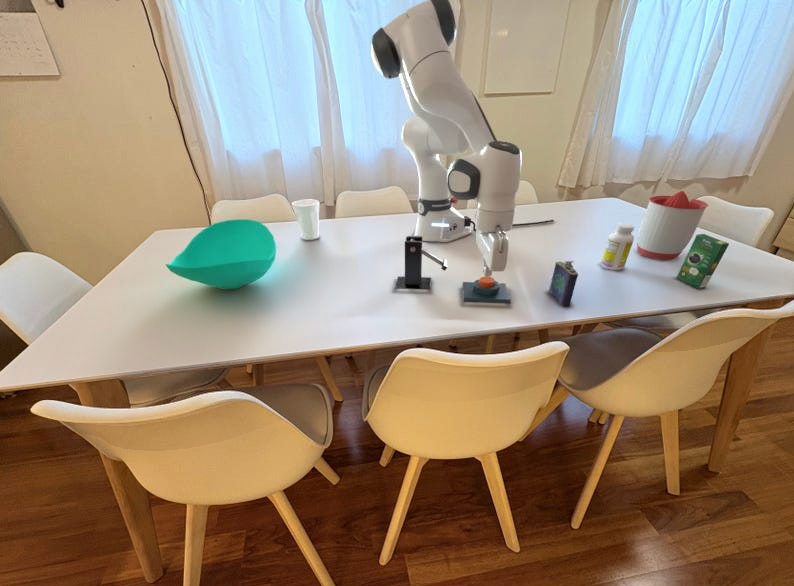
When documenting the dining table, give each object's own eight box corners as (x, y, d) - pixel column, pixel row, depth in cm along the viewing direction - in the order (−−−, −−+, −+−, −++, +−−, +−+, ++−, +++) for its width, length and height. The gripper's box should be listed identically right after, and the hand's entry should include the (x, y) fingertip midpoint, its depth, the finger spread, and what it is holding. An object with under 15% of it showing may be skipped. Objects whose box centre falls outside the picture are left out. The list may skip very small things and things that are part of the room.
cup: (301, 244, 139) (295, 207, 131) (294, 236, 146) (288, 201, 138) (327, 239, 143) (322, 203, 135) (319, 232, 150) (314, 198, 142)
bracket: (430, 281, 111) (432, 234, 103) (429, 293, 105) (431, 244, 97) (397, 280, 112) (396, 233, 104) (394, 291, 106) (393, 243, 97)
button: (493, 282, 101) (493, 276, 100) (494, 289, 98) (495, 282, 97) (478, 282, 102) (478, 276, 101) (479, 288, 98) (479, 282, 97)
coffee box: (707, 288, 105) (731, 242, 97) (698, 290, 104) (722, 243, 96) (683, 277, 111) (704, 233, 103) (675, 278, 110) (695, 234, 103)
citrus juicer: (689, 252, 127) (718, 189, 116) (677, 266, 117) (707, 199, 106) (640, 242, 136) (662, 182, 124) (624, 255, 126) (646, 191, 114)
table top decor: (207, 261, 126) (194, 221, 119) (290, 257, 128) (282, 217, 121) (158, 319, 95) (135, 270, 87) (269, 313, 97) (257, 264, 89)
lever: (443, 265, 106) (448, 258, 105) (443, 272, 102) (448, 265, 101) (407, 243, 104) (412, 236, 102) (406, 249, 100) (410, 242, 98)
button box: (504, 290, 106) (506, 277, 103) (509, 307, 98) (511, 293, 95) (461, 289, 107) (463, 275, 104) (463, 305, 99) (464, 291, 96)
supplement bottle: (622, 264, 120) (636, 223, 112) (624, 272, 115) (640, 229, 107) (599, 261, 122) (612, 221, 114) (601, 269, 117) (614, 227, 109)
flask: (546, 291, 104) (555, 254, 98) (556, 291, 105) (566, 254, 98) (562, 307, 97) (573, 268, 91) (573, 306, 97) (585, 267, 91)
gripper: (518, 233, 81) (508, 291, 89) (498, 208, 98) (491, 259, 106) (489, 233, 81) (482, 291, 89) (474, 209, 98) (469, 260, 106)
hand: (487, 274), depth 98 cm, fingers closed
